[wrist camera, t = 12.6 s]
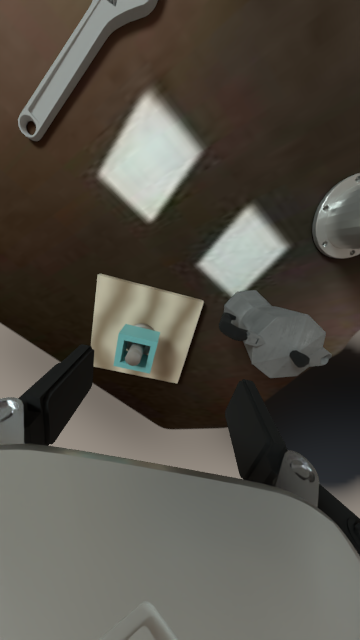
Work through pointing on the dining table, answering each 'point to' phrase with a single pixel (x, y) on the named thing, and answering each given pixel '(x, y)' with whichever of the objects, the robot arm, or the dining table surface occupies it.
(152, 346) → the collar
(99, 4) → the adjustable wrench
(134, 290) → the post stand
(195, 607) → the robot arm
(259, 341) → the coffeepot
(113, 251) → the dining table surface
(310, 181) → the dining table surface
